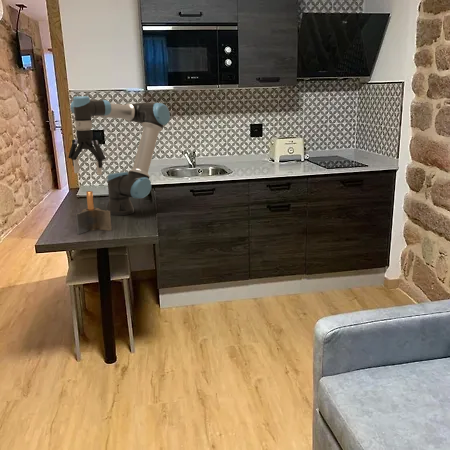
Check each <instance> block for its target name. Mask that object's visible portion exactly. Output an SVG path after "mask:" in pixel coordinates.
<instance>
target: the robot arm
mask: <svg viewBox="0 0 450 450" xmlns="http://www.w3.org/2000/svg"><path fill="white" fill-rule="evenodd" d="M70 111H71V113H72V114H73V115H74V122H75V123H74V124H75V129H76V130H75V133H76V134H75V135H76V138H75V139H72V140H71V147H70V151H69V153H68V156H67V157H68V158H69V159H71V160H72V162H71V163H72V166H73V171H74V174H78V173H80V165H79V159H78V157H79V155H80V154H81V152H82V151H83V150H88V151H89V152H90V153H91V154H92V155H93V157H94V158H95V159H96V161H95V162H96V163H95V164H96V174H97V175H98V176H99V175H102V174H103V172H102V171H103V170H102V168H103V161H105V160H106V157H105V154H104V152H103V150H102V147H101V146H100V143H99V140H98V139H95V140H93V137H94V135H93V130H92V129H93V123H92V121H93V120H92V117H97V118H98V117H100V118H111V119H122V120H125V121H128V122H133V123H138V124H141V125H142V127H143V129H142V133H141V136H140V139H139V142H138V143H139V144H138V147H137V150H136V154H135V158H134V162H133V165H132V169H130V170H128V171H121V172H113V173H109V174H108V175H107V181H106V182H107V190H108V203H107V207H106V211H110V216H115V217H116V216H118V217H119V216H126V215H127V216H128V215H131V214H134V212H135V210H134V209H135V208H134V205H133V203H132V201H131V198H133V199H144V198H146V197H147V196H148V195H149V194H150V193H151V190H152V182H151V180H150V177H151V175H149V170H150V167H151V162H152V158H153V156H154V155H153V154H154V152H155V147H156V143H157V140H158V136H159V133H160V132H162V131H163V128H164V126H165V125H167V124H168V123H169V122H170V119H171V113H170V110H169V107H168V106H167V105H166V104H164V103H161V102H138V103H129V102H128V103H126V104H120V103H112V102H110V101H109V100H108V99H90V97H89V96H88V95H85V96H84V95H83V96H82V95H81V96H80V95H79V96H73V101H71V104H70Z"/></svg>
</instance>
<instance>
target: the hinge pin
mask: <svg viewBox="0 0 450 450" xmlns="http://www.w3.org/2000/svg"><path fill="white" fill-rule="evenodd" d="M85 193H86V202H87V203H86V204H87V208H88V210H91V211H92V210H94V208H95V204H94V192H93V190H87V191H86V192H85Z"/></svg>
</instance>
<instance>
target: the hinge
mask: <svg viewBox="0 0 450 450" xmlns="http://www.w3.org/2000/svg"><path fill="white" fill-rule="evenodd" d="M111 220H112V219H111V215H110V211H107V209H106V210H104V209H101V208H99V207H94V210H92V211H91V210H88V207H87V208H84V209H82V210H81V212H78V213H76V214H75V223H76V234H77V235H81V234H82V235H83V234H84V233H86V232H90V231H92V232H93V231H96V230H99V231H100V230H101V231H108V232H111V231H112V221H111Z"/></svg>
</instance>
